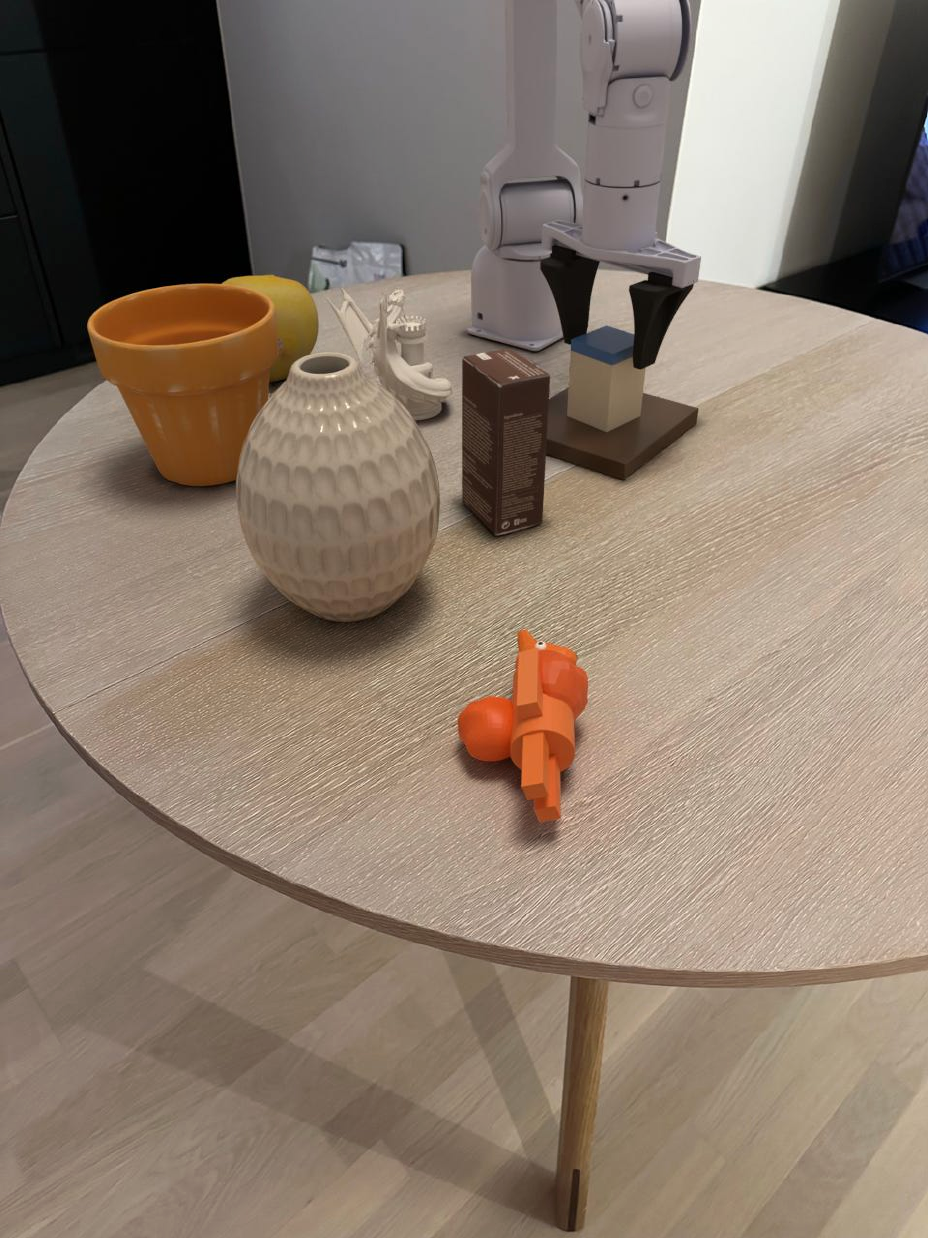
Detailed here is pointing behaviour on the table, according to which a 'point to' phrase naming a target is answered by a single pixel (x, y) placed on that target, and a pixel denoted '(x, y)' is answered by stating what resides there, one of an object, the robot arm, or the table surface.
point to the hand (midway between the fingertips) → (608, 352)
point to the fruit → (286, 318)
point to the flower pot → (190, 372)
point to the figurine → (396, 353)
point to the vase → (337, 491)
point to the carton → (604, 379)
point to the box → (504, 439)
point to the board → (616, 435)
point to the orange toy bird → (532, 721)
